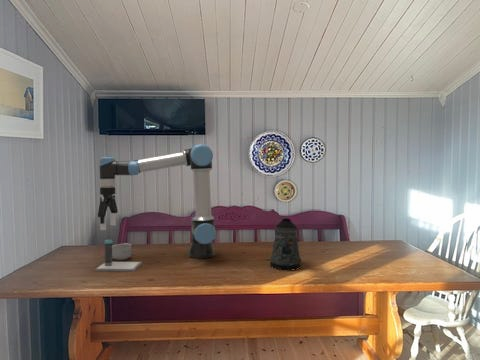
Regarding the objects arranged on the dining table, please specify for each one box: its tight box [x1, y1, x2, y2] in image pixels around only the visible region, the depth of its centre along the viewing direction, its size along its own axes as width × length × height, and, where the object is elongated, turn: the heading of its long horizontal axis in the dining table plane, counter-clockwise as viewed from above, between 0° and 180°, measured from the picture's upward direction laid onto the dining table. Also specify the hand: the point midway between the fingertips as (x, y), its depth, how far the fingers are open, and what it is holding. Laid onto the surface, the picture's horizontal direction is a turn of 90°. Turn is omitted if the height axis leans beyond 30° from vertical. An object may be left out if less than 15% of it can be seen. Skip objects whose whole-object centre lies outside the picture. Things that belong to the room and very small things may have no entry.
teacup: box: [112, 242, 132, 261], centre depth 200 cm, size 14×11×8 cm
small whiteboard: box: [94, 261, 143, 272], centre depth 183 cm, size 20×14×1 cm
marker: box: [104, 239, 113, 266], centre depth 183 cm, size 4×4×13 cm
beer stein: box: [269, 218, 302, 271], centre depth 186 cm, size 16×19×25 cm
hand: (108, 227), depth 183 cm, fingers open, 13 cm apart
